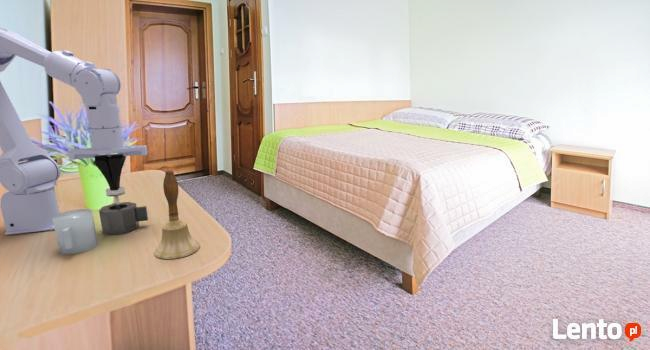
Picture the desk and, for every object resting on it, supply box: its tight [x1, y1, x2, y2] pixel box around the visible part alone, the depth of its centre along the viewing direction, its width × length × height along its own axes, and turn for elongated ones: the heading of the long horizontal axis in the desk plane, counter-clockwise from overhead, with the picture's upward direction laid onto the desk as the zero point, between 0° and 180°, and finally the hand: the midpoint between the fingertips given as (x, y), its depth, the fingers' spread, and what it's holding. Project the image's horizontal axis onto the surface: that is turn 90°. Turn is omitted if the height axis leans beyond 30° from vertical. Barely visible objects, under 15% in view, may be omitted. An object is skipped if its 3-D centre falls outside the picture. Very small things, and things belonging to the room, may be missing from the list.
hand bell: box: [154, 169, 201, 260], centre depth 67 cm, size 8×8×16 cm
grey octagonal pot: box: [98, 201, 149, 236], centre depth 79 cm, size 9×7×5 cm
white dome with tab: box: [53, 208, 99, 256], centre depth 68 cm, size 6×8×7 cm
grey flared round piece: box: [105, 186, 126, 209], centre depth 78 cm, size 4×4×6 cm
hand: (115, 189), depth 77 cm, fingers closed, pressing on grey flared round piece
